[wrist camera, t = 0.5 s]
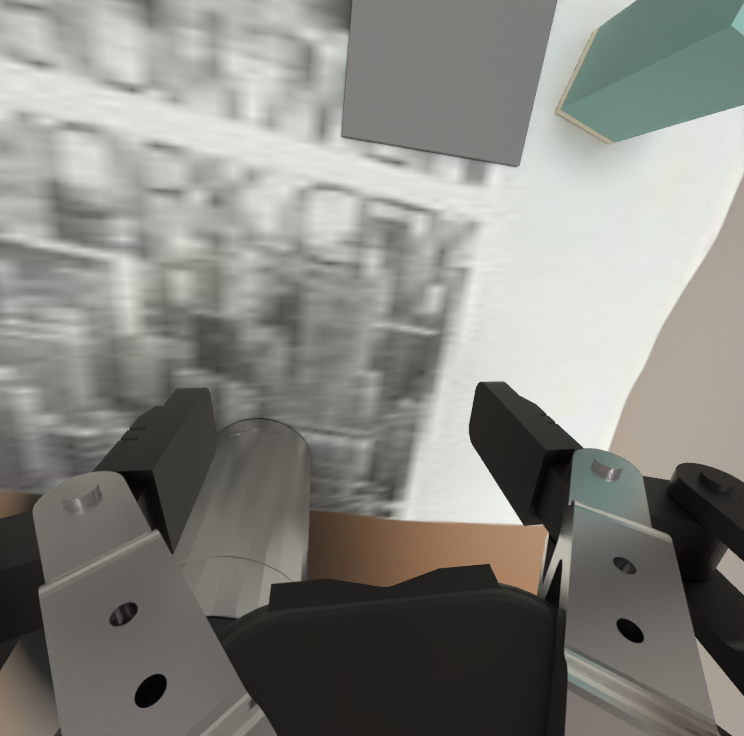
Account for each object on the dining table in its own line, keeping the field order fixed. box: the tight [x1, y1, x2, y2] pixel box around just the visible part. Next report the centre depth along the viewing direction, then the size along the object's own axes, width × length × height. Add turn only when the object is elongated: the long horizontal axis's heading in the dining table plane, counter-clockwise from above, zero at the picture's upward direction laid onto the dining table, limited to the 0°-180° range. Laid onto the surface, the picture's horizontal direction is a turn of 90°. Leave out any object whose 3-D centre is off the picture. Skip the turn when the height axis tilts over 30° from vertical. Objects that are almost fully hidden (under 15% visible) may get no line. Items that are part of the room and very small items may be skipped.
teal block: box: [555, 0, 744, 144], centre depth 20 cm, size 5×5×12 cm
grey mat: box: [342, 0, 557, 167], centre depth 23 cm, size 14×13×1 cm
